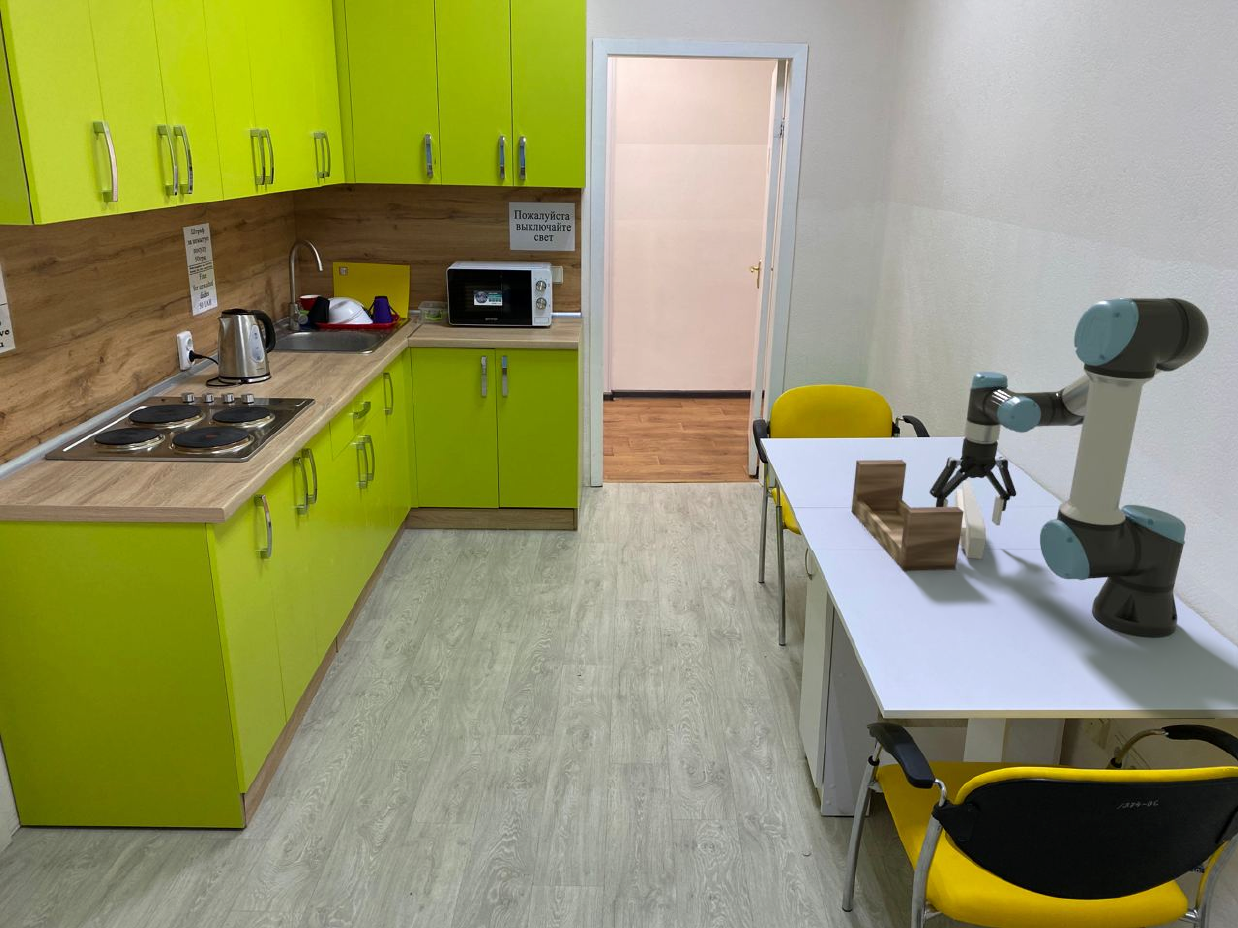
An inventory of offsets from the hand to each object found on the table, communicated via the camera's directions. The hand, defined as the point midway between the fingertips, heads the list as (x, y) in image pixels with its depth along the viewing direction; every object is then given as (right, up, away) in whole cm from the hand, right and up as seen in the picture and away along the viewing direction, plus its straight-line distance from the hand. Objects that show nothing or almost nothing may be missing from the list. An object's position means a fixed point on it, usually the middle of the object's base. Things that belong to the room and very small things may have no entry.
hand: (968, 523), depth 228 cm
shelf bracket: (0, -5, +2) cm, 6 cm away
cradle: (-15, -4, +4) cm, 16 cm away
